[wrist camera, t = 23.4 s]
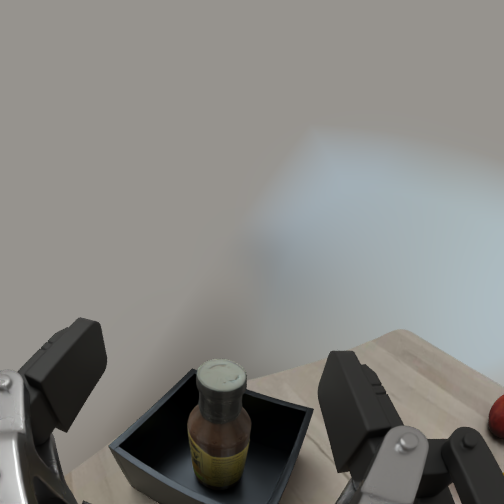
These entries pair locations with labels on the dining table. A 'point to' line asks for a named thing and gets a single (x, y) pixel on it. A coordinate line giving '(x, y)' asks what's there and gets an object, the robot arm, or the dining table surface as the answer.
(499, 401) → the fruit
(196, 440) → the sauce bottle
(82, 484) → the dining table surface
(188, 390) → the black open storage bin
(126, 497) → the dining table surface
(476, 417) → the dining table surface
